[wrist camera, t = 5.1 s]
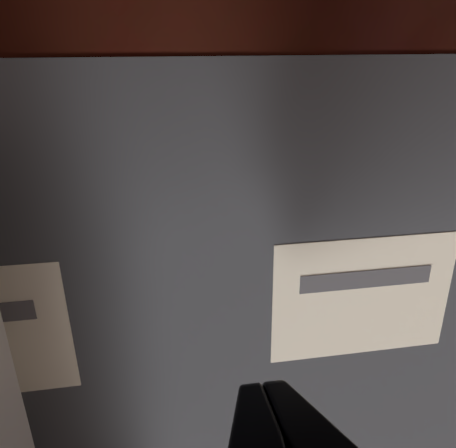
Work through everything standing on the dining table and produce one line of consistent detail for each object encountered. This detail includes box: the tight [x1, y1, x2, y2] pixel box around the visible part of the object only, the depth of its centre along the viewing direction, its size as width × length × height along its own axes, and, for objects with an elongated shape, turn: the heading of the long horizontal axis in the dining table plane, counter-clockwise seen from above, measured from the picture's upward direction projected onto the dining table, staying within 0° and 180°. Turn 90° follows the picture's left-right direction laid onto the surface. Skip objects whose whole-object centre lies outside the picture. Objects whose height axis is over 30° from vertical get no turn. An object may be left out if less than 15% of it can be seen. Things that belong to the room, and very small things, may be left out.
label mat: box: [0, 54, 456, 448], centre depth 10 cm, size 20×14×1 cm
